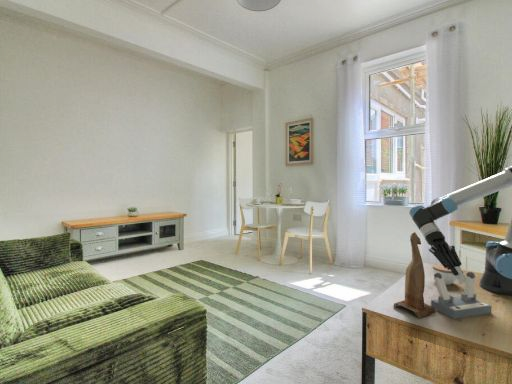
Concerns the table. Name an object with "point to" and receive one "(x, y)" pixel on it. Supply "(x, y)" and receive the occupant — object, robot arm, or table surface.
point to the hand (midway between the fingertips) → (464, 282)
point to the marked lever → (469, 285)
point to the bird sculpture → (415, 283)
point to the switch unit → (461, 306)
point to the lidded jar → (444, 274)
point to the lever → (441, 287)
